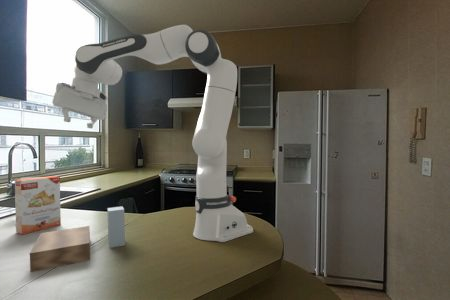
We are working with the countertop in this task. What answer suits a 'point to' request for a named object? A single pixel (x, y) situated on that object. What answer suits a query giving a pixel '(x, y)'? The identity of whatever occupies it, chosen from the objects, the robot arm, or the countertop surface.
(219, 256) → the countertop surface
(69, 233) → the walnut wood block
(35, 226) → the cracker box
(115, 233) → the block
